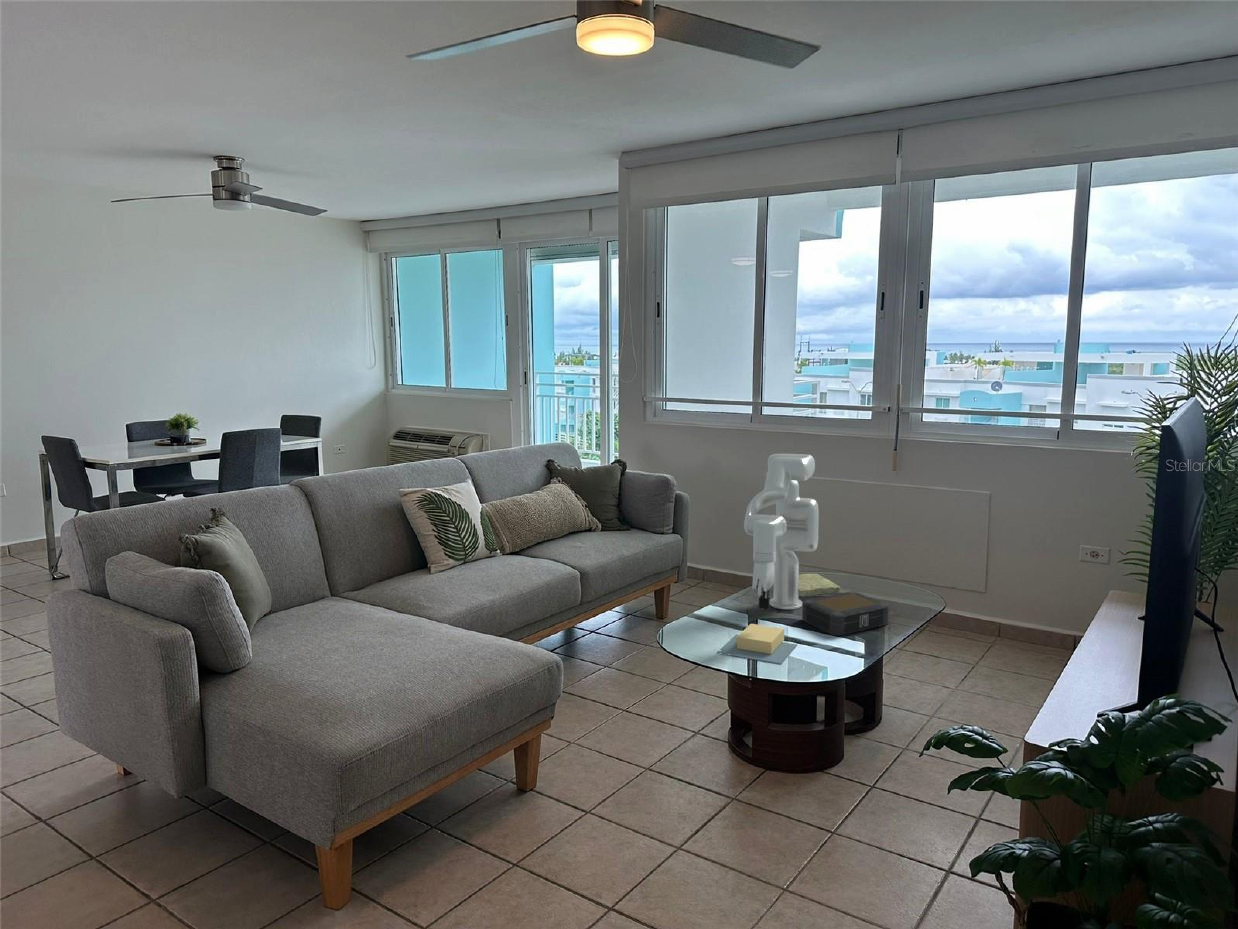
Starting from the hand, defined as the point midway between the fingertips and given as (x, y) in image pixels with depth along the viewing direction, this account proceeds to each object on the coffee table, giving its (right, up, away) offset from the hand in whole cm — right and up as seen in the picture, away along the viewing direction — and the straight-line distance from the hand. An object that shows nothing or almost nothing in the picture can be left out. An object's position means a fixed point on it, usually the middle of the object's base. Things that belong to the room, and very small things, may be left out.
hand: (764, 608), depth 284 cm
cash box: (+33, -9, +20) cm, 40 cm away
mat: (-3, -13, -4) cm, 14 cm away
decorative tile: (+29, -3, +61) cm, 68 cm away
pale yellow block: (+2, -9, +5) cm, 10 cm away
